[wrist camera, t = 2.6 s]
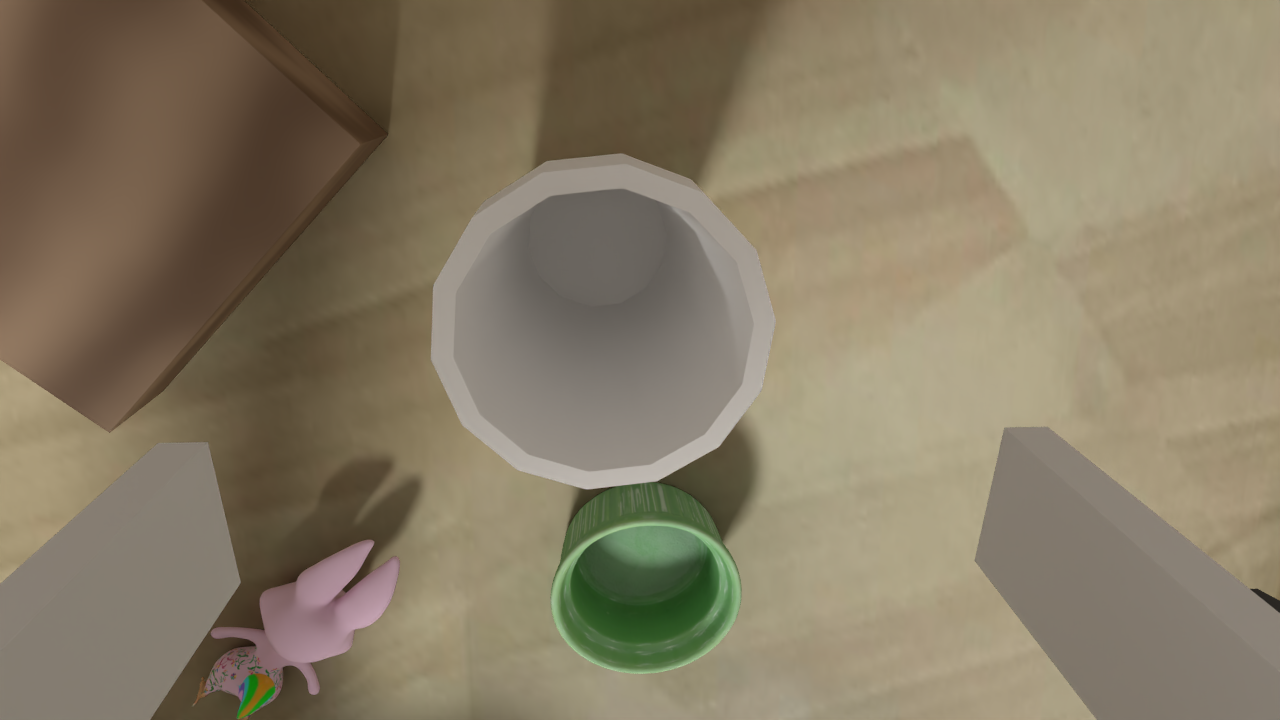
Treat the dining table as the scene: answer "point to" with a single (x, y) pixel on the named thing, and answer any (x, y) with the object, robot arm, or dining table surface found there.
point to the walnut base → (151, 183)
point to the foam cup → (601, 323)
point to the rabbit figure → (302, 627)
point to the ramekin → (644, 580)
